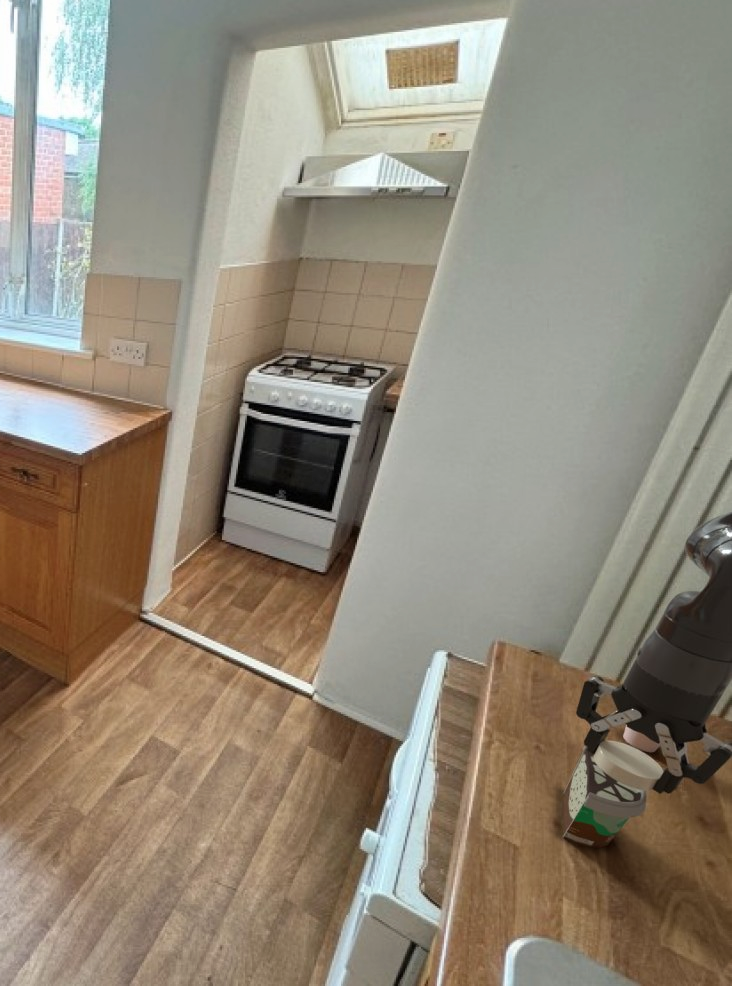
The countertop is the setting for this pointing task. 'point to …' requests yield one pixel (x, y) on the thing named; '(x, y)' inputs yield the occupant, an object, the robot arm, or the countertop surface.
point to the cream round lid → (627, 765)
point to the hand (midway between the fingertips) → (624, 769)
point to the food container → (597, 804)
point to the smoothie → (640, 740)
